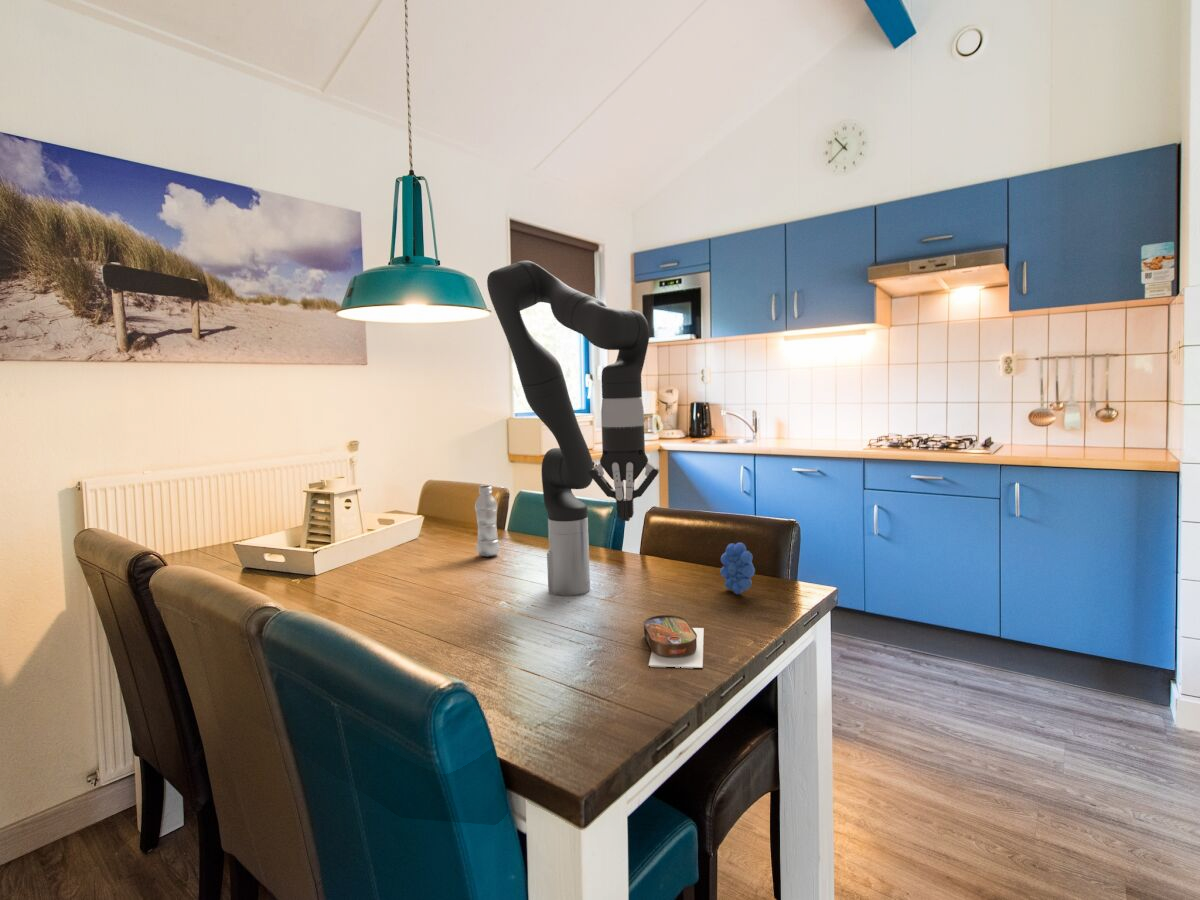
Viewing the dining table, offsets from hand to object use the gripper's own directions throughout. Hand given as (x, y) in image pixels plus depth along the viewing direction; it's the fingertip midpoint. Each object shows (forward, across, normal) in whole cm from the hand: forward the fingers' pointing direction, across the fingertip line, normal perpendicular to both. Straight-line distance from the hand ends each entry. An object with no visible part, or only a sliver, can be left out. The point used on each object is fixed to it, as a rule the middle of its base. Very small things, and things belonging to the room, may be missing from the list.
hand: (625, 520), depth 121 cm
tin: (+22, +3, 0) cm, 22 cm away
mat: (+23, +9, 0) cm, 25 cm away
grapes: (+24, +21, +32) cm, 45 cm away
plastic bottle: (+24, -48, +62) cm, 82 cm away
